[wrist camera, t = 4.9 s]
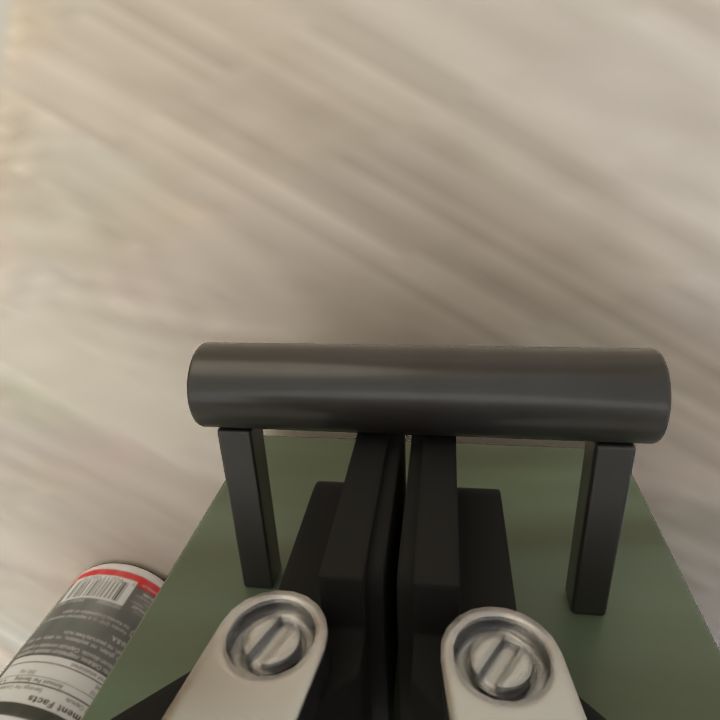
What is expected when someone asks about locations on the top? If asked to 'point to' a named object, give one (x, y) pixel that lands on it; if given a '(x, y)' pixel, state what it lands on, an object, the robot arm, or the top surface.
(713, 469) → the top surface
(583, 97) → the top surface
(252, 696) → the robot arm
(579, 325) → the top surface
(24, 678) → the pill bottle
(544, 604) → the drawer
